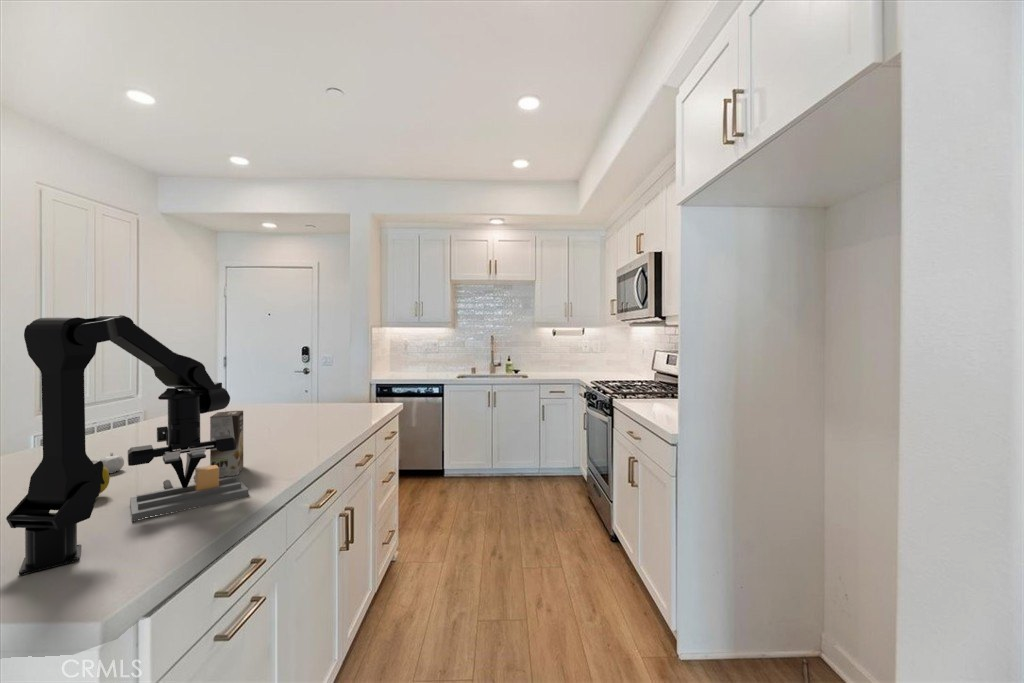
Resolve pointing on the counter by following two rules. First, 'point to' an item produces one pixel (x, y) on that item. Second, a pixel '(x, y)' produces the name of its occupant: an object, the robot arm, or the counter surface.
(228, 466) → the coffee box
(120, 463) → the garlic
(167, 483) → the dark grey parallel rods
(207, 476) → the light orange rectangular block
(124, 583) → the counter surface
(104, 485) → the lemon
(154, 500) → the plate
